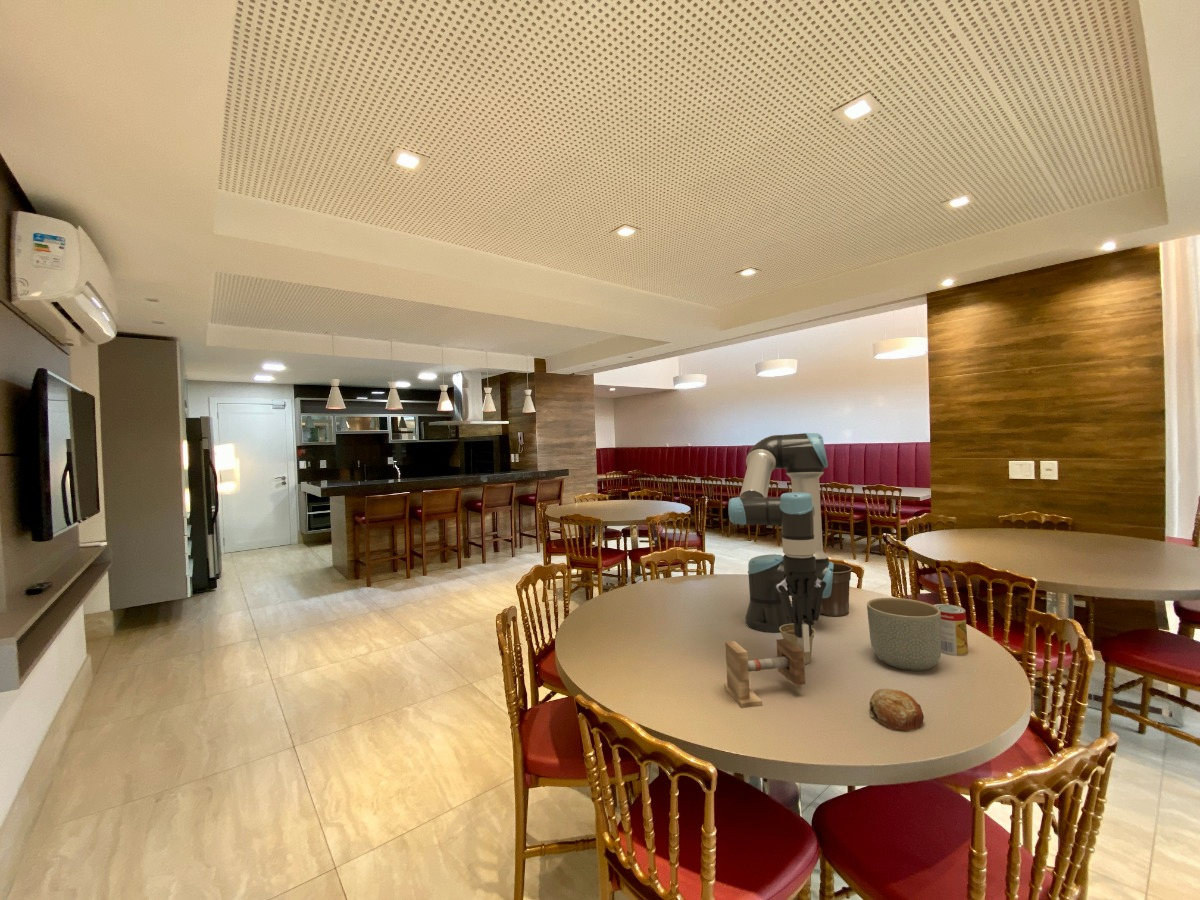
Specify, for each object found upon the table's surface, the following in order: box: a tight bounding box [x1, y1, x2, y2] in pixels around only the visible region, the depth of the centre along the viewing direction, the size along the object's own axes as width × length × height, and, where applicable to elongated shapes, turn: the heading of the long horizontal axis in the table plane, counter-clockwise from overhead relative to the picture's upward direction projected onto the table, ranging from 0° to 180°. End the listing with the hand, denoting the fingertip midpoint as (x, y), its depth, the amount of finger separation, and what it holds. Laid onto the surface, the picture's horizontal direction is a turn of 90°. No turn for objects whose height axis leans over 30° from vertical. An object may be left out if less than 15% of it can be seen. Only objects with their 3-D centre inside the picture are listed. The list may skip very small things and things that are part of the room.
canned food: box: [933, 603, 969, 657], centre depth 137 cm, size 8×8×12 cm
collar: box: [776, 638, 806, 687], centre depth 118 cm, size 2×8×8 cm, turn 9°
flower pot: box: [779, 623, 816, 665], centre depth 135 cm, size 9×9×9 cm
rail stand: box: [723, 640, 806, 709], centre depth 118 cm, size 19×10×12 cm, turn 99°
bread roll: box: [869, 688, 925, 732], centre depth 104 cm, size 10×10×8 cm
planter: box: [866, 597, 942, 672], centre depth 130 cm, size 17×17×15 cm
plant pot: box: [819, 562, 853, 617], centre depth 174 cm, size 16×16×16 cm
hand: (804, 649), depth 119 cm, fingers closed
